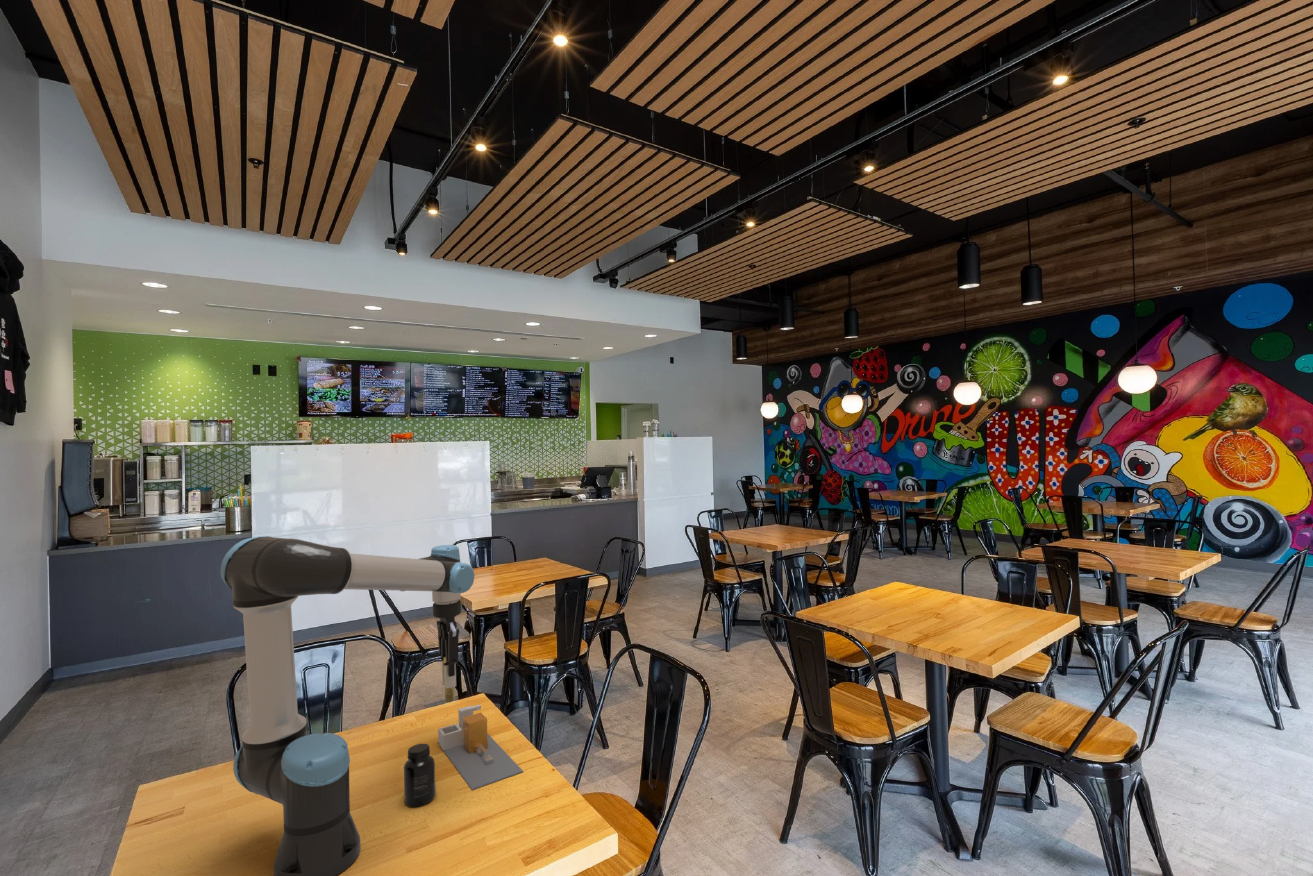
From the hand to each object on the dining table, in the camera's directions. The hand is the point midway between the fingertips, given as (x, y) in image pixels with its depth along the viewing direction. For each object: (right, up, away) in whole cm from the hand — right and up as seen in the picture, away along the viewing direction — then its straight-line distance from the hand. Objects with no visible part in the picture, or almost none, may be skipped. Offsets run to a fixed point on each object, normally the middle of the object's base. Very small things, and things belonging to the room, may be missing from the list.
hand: (449, 685), depth 168 cm
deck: (+10, -16, -8) cm, 21 cm away
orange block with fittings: (+11, -16, -7) cm, 20 cm away
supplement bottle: (+2, -16, -27) cm, 31 cm away
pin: (0, -4, 0) cm, 4 cm away
